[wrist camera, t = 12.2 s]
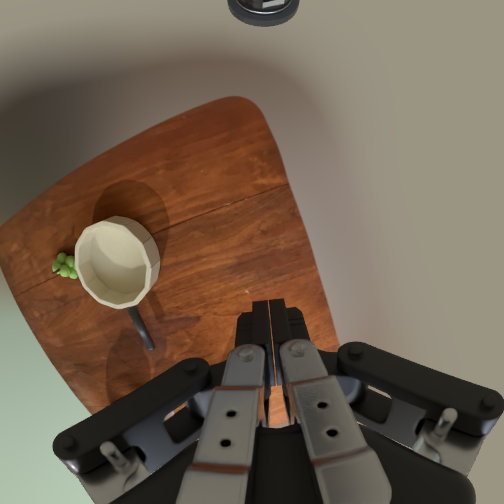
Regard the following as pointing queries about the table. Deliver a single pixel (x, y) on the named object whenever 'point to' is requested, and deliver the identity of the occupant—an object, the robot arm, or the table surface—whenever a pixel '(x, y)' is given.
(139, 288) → the pan
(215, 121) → the table surface
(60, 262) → the grapes
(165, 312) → the table surface
